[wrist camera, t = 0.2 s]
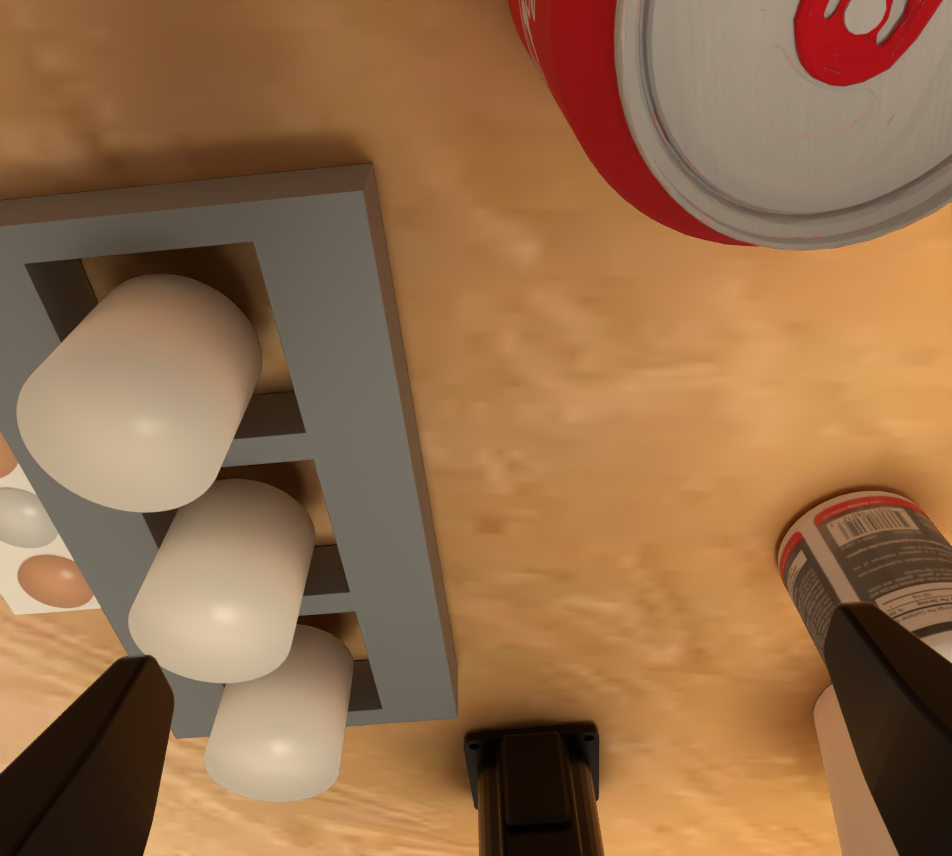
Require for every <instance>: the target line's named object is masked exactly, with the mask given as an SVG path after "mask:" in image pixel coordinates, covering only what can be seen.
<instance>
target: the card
mask: <svg viewBox="0 0 952 856" xmlns="http://www.w3.org/2000/svg"><path fill="white" fill-rule="evenodd" d="M0 594H1V595H2V596H3V598H4V599H5V601H6V602H7V604H8V605H9V607H10V608H11V610H12V611H13V613H14V614H15V615H22V614H34V613H47V612H59V611H72V610H85V609H97V608H101V607H100V605H99V603H98V601H97V600H96V598H95V596H94V594H93V593H92V591H91V589H90V587H89V586H88V584H87V582H86V580H85V579H84V577H83V575H82V573H81V572H80V570H79V568H78V566H77V565H76V563H75V561H74V559H73V558H72V556H71V554H70V552H69V551H68V549H67V547H66V545H65V544H64V542H63V540H62V538H61V537H60V535H59V533H58V531H57V530H56V528H55V526H54V524H53V523H52V521H51V519H50V517H49V516H48V514H47V512H46V510H45V509H44V507H43V505H42V503H41V502H40V500H39V498H38V496H37V495H36V493H35V491H34V489H33V488H32V486H31V484H30V482H29V481H28V479H27V477H26V475H25V474H24V472H23V470H22V468H21V467H20V465H19V463H18V461H17V460H16V458H15V456H14V454H13V453H12V451H11V449H10V447H9V446H8V444H7V442H6V440H5V439H4V437H3V435H2V433H1V432H0Z"/></svg>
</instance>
